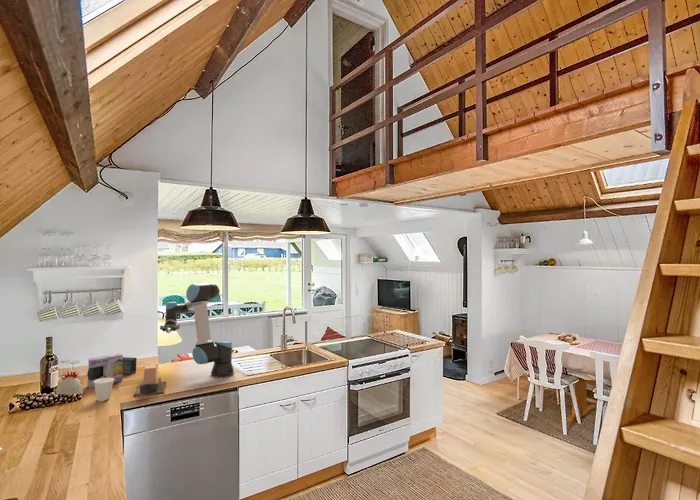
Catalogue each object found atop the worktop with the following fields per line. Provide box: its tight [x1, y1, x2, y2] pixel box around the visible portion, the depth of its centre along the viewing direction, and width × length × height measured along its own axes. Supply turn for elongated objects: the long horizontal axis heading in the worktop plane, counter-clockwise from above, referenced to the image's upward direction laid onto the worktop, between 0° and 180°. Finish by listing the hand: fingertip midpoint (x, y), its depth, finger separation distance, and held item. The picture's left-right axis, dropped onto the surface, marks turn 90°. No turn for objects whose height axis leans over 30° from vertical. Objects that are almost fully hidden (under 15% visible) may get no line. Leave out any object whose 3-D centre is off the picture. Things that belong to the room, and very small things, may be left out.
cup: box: [94, 378, 114, 402], centre depth 220 cm, size 10×10×11 cm
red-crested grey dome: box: [55, 370, 84, 397], centre depth 223 cm, size 14×14×15 cm
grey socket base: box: [132, 376, 167, 398], centre depth 238 cm, size 16×20×6 cm
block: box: [143, 364, 158, 384], centre depth 233 cm, size 6×6×14 cm
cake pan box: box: [86, 353, 124, 389], centre depth 245 cm, size 19×5×18 cm, turn 137°
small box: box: [122, 356, 138, 376], centre depth 268 cm, size 11×6×10 cm, turn 84°
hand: (168, 331), depth 259 cm, fingers closed
